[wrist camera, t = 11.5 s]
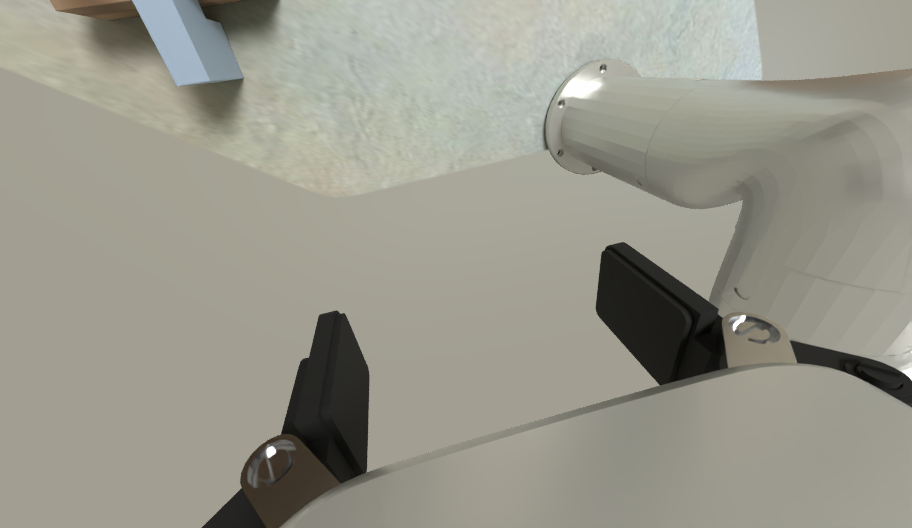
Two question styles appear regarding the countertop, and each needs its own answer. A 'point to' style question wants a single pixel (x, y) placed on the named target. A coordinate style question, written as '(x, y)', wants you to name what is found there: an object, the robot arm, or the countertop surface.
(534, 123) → the countertop surface
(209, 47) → the blue slot plate
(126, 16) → the walnut slot plate
